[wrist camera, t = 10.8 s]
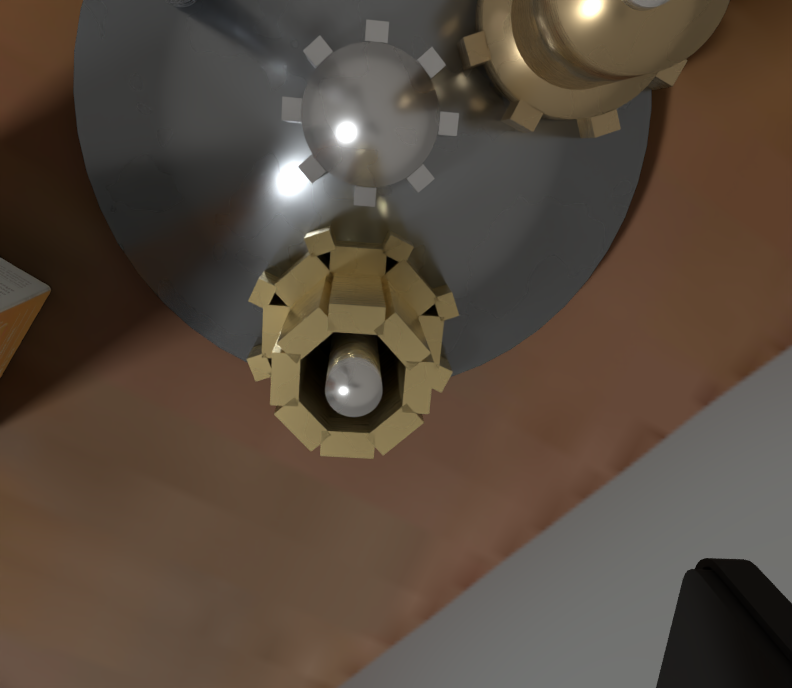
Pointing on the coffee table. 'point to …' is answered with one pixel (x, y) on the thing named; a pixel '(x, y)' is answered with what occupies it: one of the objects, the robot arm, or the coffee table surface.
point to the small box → (17, 307)
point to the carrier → (373, 149)
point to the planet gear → (351, 313)
